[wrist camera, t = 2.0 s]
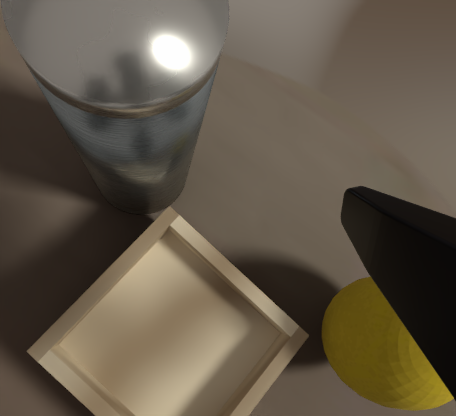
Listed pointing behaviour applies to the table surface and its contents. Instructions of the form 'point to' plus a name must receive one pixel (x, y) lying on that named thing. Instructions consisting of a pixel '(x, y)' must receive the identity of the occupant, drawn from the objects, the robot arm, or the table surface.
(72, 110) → the canister
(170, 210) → the square wooden tray
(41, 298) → the table surface
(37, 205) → the table surface
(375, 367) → the lemon
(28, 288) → the table surface
